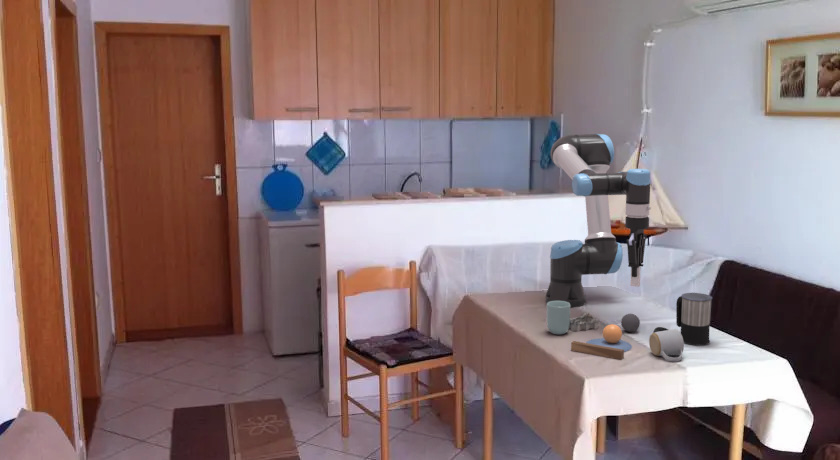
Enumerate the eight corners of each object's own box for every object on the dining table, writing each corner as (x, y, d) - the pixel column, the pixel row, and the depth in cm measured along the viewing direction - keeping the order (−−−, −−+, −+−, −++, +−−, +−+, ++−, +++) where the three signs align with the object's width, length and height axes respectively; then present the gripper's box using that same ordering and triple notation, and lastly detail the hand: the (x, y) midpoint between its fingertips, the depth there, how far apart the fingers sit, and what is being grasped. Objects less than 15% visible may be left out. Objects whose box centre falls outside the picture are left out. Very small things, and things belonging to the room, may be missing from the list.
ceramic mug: (647, 351, 235) (648, 327, 233) (672, 349, 236) (673, 325, 235) (663, 363, 224) (664, 338, 223) (689, 361, 226) (690, 336, 224)
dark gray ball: (622, 308, 255) (617, 324, 252) (640, 312, 252) (636, 328, 249) (625, 316, 259) (620, 332, 257) (642, 320, 257) (638, 336, 254)
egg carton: (589, 323, 266) (590, 312, 265) (601, 329, 259) (601, 317, 258) (562, 326, 263) (562, 315, 262) (573, 332, 256) (573, 320, 255)
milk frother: (716, 342, 242) (718, 296, 240) (682, 351, 234) (684, 304, 232) (680, 331, 254) (682, 287, 252) (646, 339, 246) (648, 294, 244)
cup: (569, 336, 250) (570, 307, 249) (545, 335, 252) (546, 306, 250) (570, 329, 258) (570, 301, 256) (546, 328, 259) (547, 300, 258)
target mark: (596, 336, 250) (596, 335, 250) (638, 343, 243) (638, 342, 243) (578, 347, 239) (578, 347, 239) (622, 355, 231) (622, 355, 231)
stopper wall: (573, 348, 238) (573, 340, 238) (623, 357, 229) (624, 349, 229) (571, 350, 237) (571, 342, 236) (621, 359, 228) (621, 351, 227)
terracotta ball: (600, 323, 242) (598, 342, 242) (618, 326, 239) (617, 345, 239) (607, 322, 247) (605, 341, 247) (625, 325, 244) (623, 344, 244)
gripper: (641, 219, 246) (639, 291, 250) (655, 214, 256) (652, 283, 260) (619, 217, 250) (617, 288, 254) (633, 212, 260) (631, 280, 264)
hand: (635, 285), depth 257 cm, fingers closed
